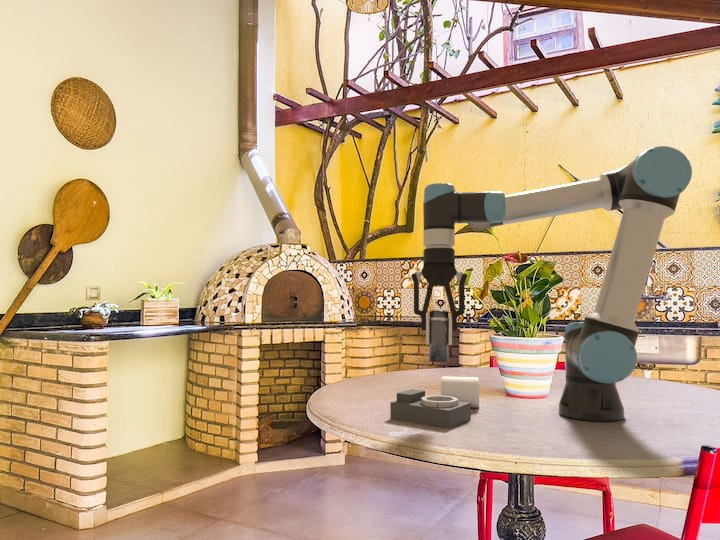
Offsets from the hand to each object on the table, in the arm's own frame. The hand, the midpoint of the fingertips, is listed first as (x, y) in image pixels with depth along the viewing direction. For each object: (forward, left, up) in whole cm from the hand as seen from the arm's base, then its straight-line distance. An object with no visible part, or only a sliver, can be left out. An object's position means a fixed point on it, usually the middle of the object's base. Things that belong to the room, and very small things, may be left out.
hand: (438, 344), depth 135 cm
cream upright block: (+4, -20, -19) cm, 28 cm away
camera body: (+2, 0, -18) cm, 18 cm away
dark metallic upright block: (0, 0, -4) cm, 4 cm away
